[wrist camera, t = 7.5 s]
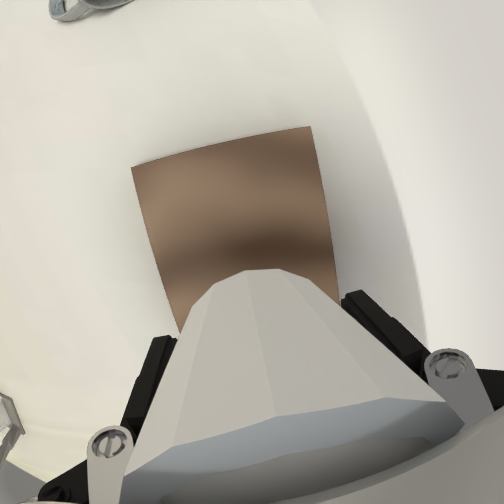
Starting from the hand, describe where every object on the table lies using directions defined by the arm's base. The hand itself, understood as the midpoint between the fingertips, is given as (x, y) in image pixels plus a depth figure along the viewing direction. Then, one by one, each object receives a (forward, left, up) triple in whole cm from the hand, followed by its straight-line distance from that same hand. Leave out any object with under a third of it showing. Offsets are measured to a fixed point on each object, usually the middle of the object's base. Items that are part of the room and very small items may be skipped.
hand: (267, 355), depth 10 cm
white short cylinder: (0, 0, -1) cm, 1 cm away
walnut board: (0, 0, -12) cm, 12 cm away
